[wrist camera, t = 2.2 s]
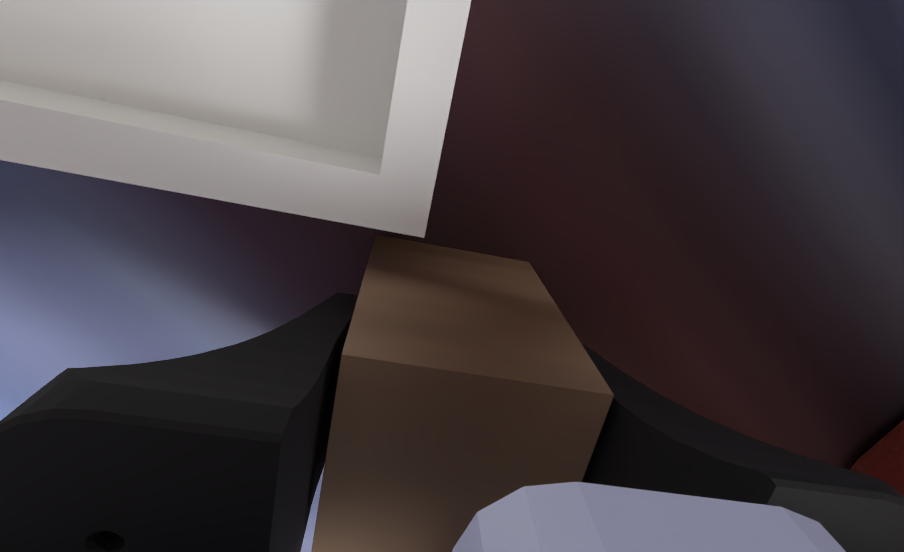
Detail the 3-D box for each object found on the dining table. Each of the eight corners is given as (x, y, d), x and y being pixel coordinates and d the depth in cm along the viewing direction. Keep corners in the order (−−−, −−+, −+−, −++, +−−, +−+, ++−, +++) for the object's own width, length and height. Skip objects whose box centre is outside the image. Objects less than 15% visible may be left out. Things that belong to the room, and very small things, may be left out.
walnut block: (353, 371, 14) (309, 566, 8) (375, 233, 12) (341, 354, 7) (493, 391, 14) (541, 587, 9) (528, 262, 13) (613, 395, 7)
